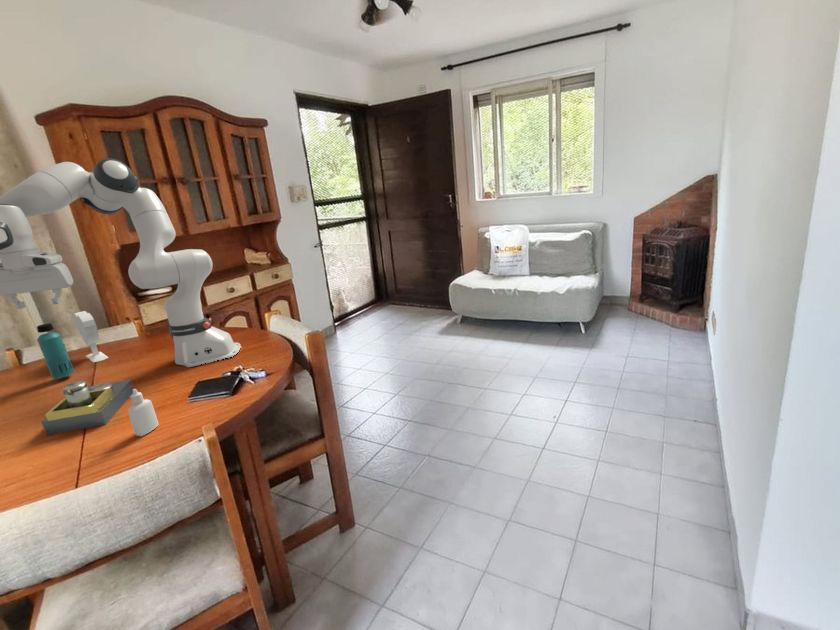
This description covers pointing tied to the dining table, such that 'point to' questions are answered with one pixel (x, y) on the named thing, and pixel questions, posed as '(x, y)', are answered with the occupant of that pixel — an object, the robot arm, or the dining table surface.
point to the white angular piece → (89, 334)
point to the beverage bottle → (54, 352)
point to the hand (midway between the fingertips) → (39, 305)
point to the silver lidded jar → (77, 394)
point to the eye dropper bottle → (142, 414)
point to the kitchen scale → (89, 408)
